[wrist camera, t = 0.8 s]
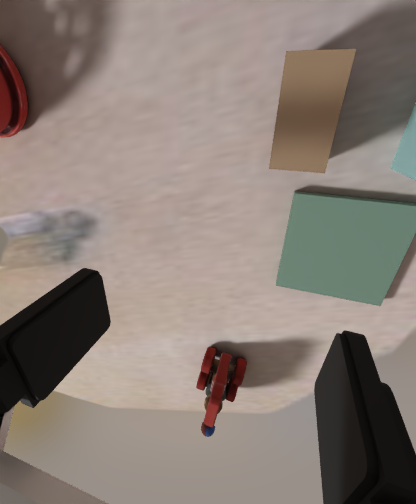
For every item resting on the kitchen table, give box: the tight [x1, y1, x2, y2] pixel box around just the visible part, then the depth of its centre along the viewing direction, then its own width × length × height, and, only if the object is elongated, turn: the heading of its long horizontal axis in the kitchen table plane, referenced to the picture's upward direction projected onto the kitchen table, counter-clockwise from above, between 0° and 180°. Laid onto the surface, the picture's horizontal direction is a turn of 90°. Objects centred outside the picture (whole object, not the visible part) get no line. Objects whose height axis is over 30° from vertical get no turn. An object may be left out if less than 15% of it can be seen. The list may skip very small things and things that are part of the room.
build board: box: [276, 191, 416, 306], centre depth 28 cm, size 12×12×1 cm
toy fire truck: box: [196, 347, 247, 437], centre depth 39 cm, size 7×12×10 cm, turn 170°
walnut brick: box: [269, 49, 356, 173], centre depth 21 cm, size 8×4×6 cm, turn 178°
